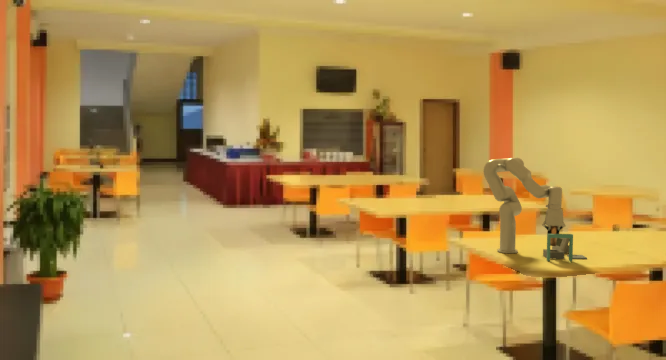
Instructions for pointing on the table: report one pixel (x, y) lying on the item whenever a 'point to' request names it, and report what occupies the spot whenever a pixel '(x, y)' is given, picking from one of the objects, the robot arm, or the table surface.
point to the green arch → (560, 237)
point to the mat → (578, 257)
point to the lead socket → (554, 253)
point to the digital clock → (562, 244)
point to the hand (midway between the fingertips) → (553, 236)
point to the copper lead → (553, 231)
